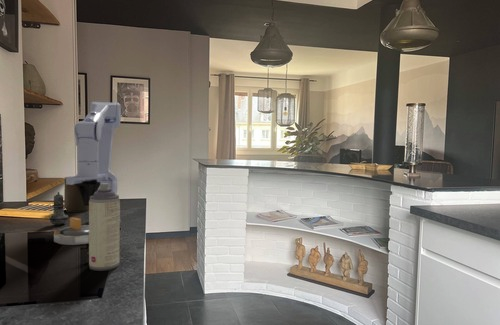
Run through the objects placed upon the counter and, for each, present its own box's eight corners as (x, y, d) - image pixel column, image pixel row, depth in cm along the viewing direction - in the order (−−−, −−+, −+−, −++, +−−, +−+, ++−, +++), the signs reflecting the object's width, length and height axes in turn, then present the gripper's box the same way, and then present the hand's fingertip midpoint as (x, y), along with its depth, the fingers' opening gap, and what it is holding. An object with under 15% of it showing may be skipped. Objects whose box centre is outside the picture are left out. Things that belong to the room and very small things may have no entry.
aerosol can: (104, 258, 91) (105, 181, 90) (125, 263, 88) (126, 183, 87) (82, 267, 85) (82, 184, 83) (104, 272, 82) (104, 186, 81)
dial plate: (89, 231, 116) (89, 221, 116) (118, 239, 108) (118, 229, 108) (42, 241, 104) (41, 230, 103) (70, 252, 95) (70, 240, 95)
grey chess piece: (60, 229, 117) (59, 193, 116) (44, 228, 118) (44, 192, 117) (72, 225, 122) (72, 191, 122) (57, 224, 124) (57, 190, 123)
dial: (104, 236, 107) (104, 219, 107) (74, 243, 99) (74, 225, 99) (86, 231, 112) (85, 215, 112) (56, 237, 105) (56, 220, 104)
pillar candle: (83, 212, 142) (83, 175, 142) (59, 211, 143) (59, 174, 142) (94, 208, 152) (94, 173, 151) (71, 207, 152) (72, 172, 151)
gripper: (95, 159, 116) (95, 200, 117) (57, 161, 103) (58, 208, 104) (113, 160, 114) (112, 202, 115) (76, 163, 100) (77, 210, 101)
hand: (88, 205), depth 109 cm, fingers closed
